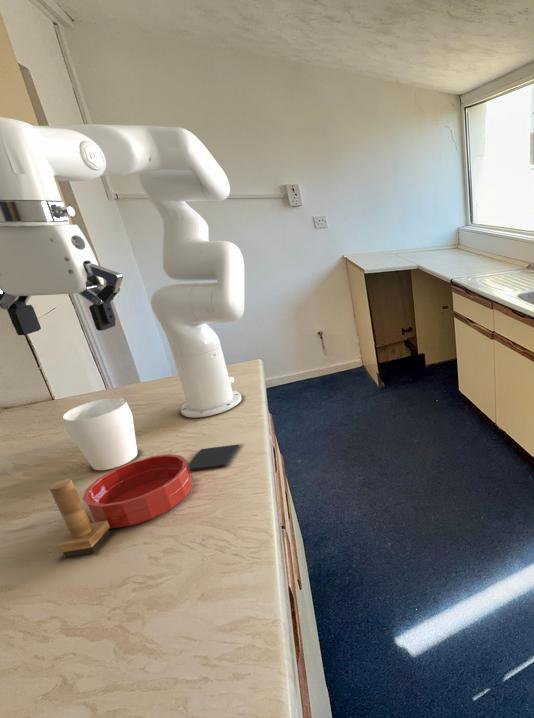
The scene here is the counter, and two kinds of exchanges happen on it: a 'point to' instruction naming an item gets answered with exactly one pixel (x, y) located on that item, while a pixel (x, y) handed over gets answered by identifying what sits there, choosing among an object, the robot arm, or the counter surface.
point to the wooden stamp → (77, 522)
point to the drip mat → (213, 457)
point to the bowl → (139, 490)
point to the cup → (103, 432)
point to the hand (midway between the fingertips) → (69, 330)
